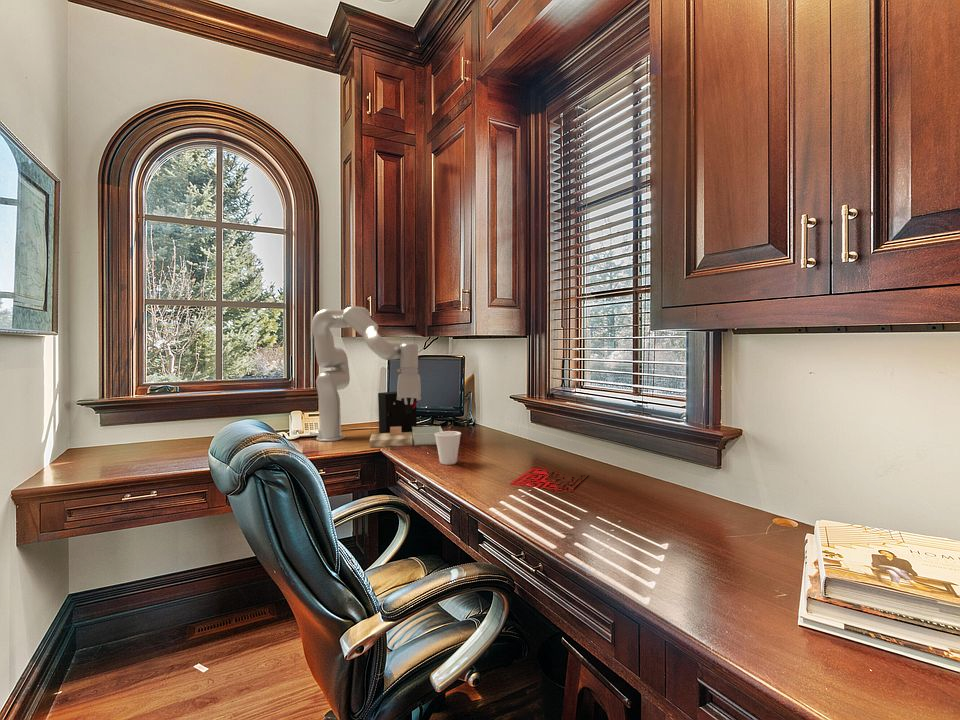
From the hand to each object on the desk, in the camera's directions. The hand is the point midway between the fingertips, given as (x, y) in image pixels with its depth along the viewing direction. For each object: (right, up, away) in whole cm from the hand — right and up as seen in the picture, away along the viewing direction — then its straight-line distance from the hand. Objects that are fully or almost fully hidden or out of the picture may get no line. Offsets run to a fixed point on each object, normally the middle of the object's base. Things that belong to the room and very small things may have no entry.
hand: (408, 413), depth 221 cm
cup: (+20, -15, -35) cm, 42 cm away
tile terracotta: (-7, -10, +7) cm, 14 cm away
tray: (+8, -13, +6) cm, 16 cm away
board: (-8, -13, +3) cm, 16 cm away
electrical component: (-9, -13, +28) cm, 32 cm away
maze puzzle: (+54, -16, -58) cm, 81 cm away
